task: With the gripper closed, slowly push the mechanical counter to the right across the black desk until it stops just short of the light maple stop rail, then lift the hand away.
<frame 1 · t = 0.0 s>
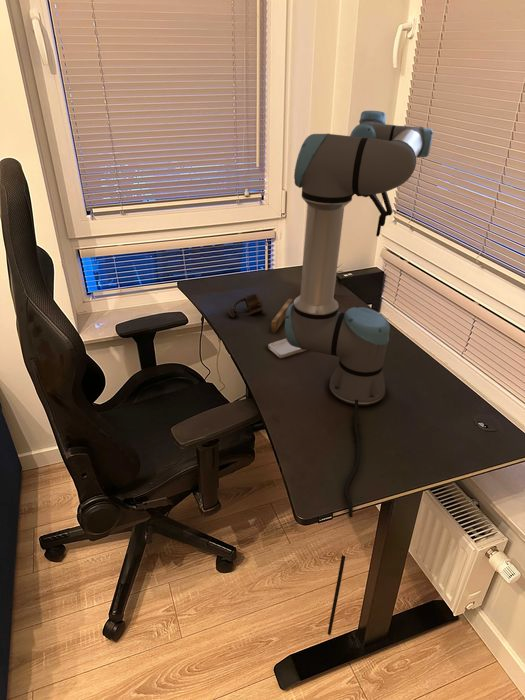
hand: (357, 232, 167), 28 cm above the table, tool pointing down, fingers open, 13 cm apart
stop rail: (281, 320, 172), on the table
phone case: (293, 347, 158), on the table
house plant: (323, 294, 191), on the table
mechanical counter: (245, 313, 176), on the table
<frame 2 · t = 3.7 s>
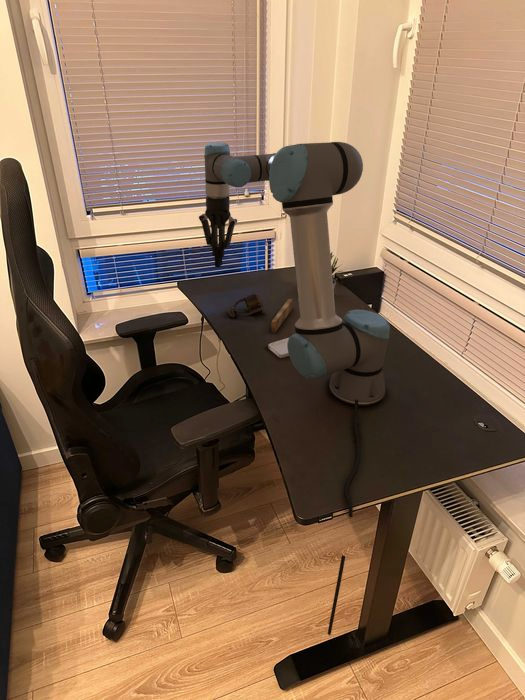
hand: (218, 265, 170), 16 cm above the table, tool pointing down, fingers closed
nothing on the table moved.
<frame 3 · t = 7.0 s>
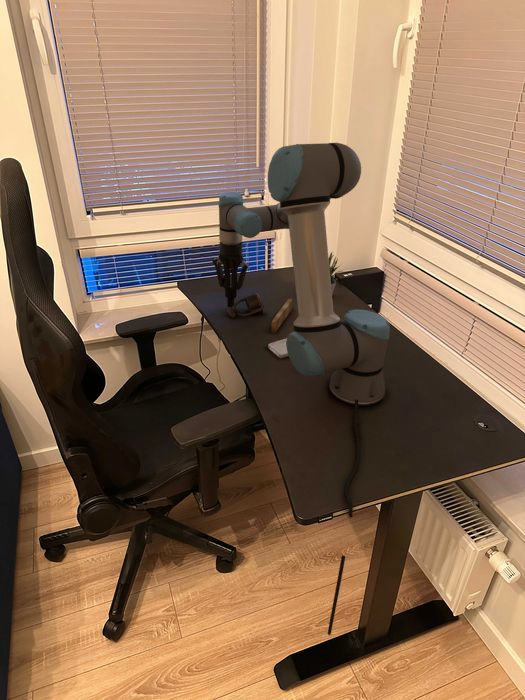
hand: (230, 305, 176), 2 cm above the table, tool pointing down, fingers closed
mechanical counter: (245, 313, 176), on the table, touching gripper
everything else where it was.
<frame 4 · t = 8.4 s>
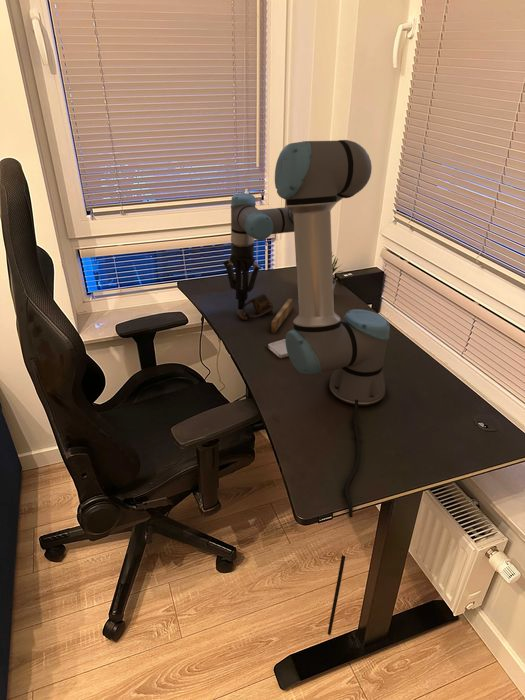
hand: (241, 307, 175), 2 cm above the table, tool pointing down, fingers closed
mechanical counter: (254, 314, 175), on the table, touching gripper
everything else where it was.
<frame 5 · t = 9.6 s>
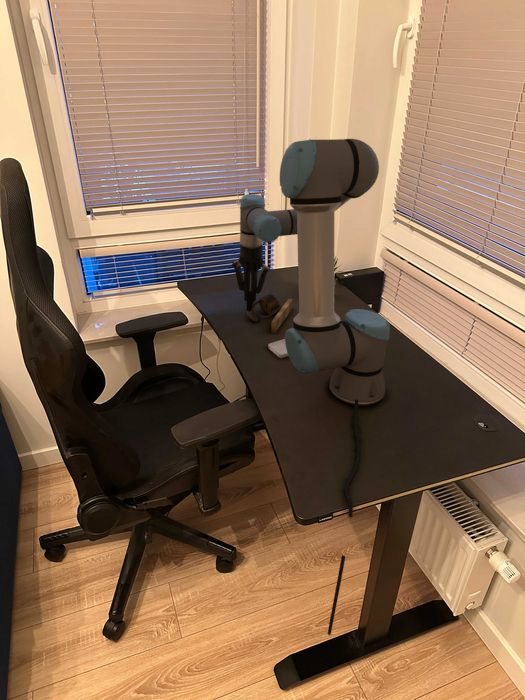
hand: (249, 309, 174), 2 cm above the table, tool pointing down, fingers closed
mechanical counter: (262, 315, 175), on the table, touching gripper
everything else where it was.
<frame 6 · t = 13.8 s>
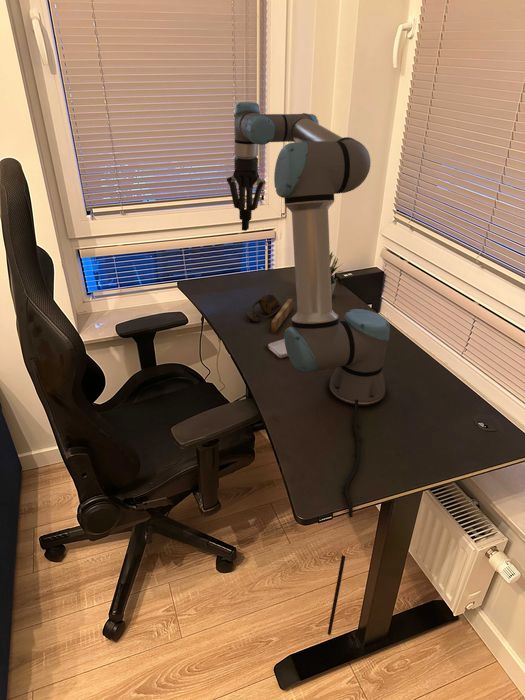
hand: (245, 229, 171), 26 cm above the table, tool pointing down, fingers closed
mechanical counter: (262, 315, 175), on the table
everything else where it was.
at the end: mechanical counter inside the target area (1.1 cm from its centre), on the table; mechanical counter moved 6.2 cm from its start; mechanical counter tilted 0° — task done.
